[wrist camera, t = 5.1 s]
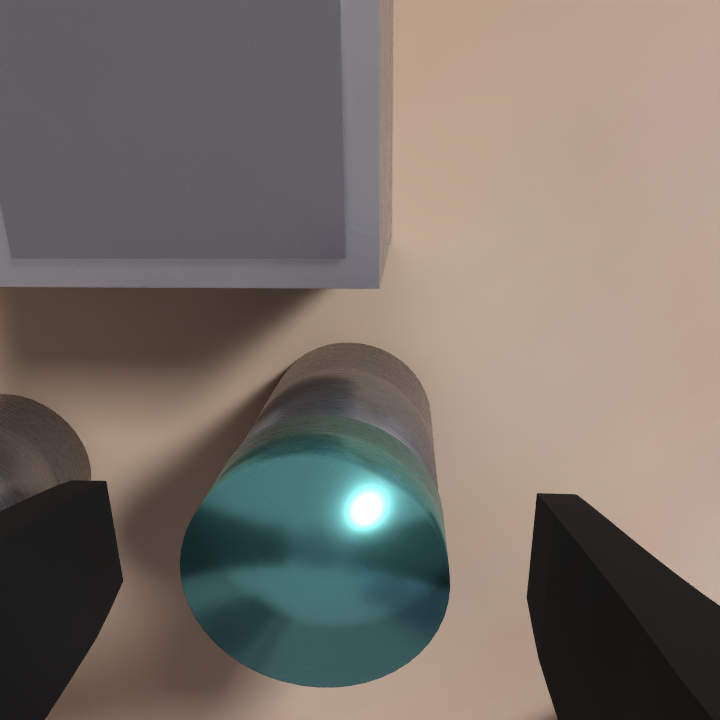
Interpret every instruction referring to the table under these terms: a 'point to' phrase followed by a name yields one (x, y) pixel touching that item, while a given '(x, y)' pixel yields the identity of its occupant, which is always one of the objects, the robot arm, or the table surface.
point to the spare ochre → (36, 450)
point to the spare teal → (325, 527)
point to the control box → (195, 143)
